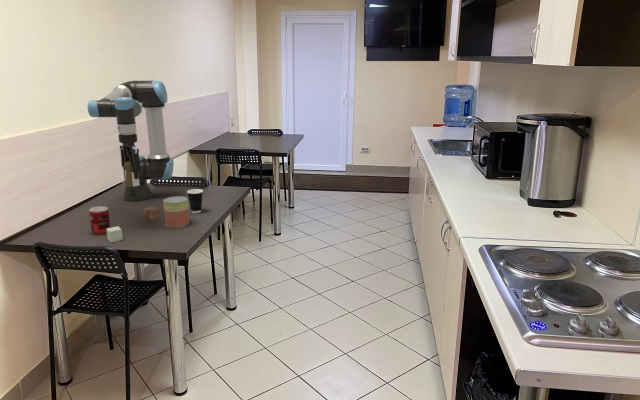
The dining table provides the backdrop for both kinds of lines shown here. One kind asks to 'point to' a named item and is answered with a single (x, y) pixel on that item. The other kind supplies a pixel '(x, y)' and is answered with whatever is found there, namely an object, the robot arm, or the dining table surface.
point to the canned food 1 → (99, 219)
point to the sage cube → (114, 234)
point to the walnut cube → (152, 213)
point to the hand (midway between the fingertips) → (132, 184)
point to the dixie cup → (195, 200)
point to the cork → (129, 174)
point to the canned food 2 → (176, 211)
